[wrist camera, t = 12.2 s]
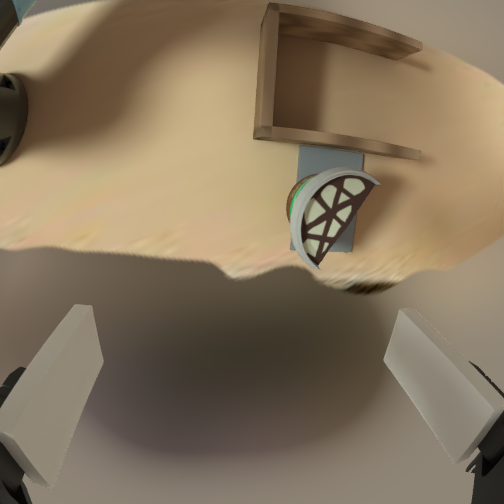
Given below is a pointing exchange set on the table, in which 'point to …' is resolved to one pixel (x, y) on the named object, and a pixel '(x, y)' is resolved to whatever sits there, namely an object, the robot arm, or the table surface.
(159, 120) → the table surface
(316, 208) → the food container
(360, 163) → the pad
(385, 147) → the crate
